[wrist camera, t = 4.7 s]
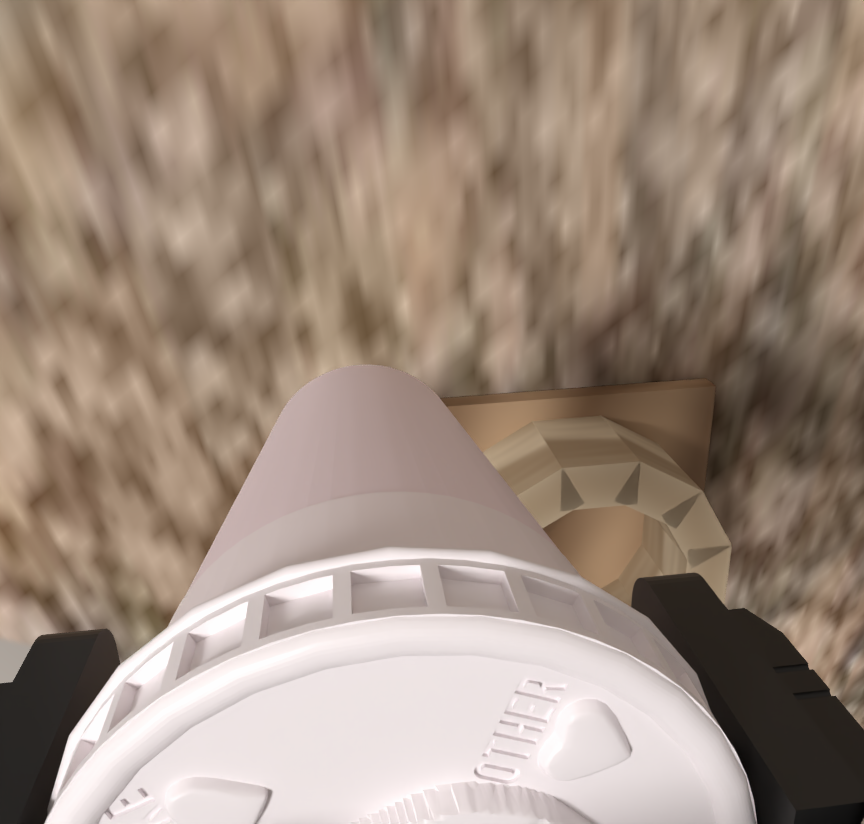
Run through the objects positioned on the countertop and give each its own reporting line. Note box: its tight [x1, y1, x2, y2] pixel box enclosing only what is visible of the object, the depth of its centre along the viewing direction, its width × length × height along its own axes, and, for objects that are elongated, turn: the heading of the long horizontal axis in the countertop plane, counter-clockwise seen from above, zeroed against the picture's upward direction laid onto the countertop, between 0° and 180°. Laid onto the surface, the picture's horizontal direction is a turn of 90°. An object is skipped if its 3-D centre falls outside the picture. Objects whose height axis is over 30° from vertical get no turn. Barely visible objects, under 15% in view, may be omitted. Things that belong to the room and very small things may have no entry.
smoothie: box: [44, 365, 757, 824], centre depth 9 cm, size 6×6×14 cm
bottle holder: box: [440, 378, 732, 607], centre depth 34 cm, size 13×13×6 cm
